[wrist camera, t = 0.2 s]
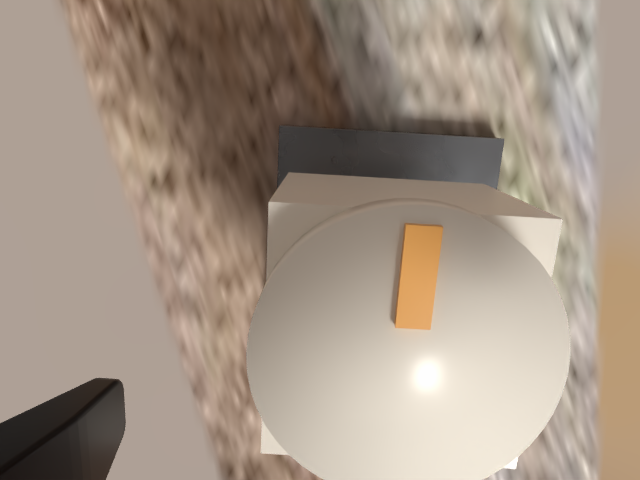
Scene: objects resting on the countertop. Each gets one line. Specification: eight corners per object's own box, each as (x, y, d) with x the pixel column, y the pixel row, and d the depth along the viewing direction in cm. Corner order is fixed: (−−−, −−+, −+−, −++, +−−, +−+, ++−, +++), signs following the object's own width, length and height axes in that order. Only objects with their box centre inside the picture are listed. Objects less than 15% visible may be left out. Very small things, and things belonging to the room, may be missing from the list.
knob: (465, 368, 19) (543, 513, 12) (273, 356, 19) (242, 494, 12) (494, 176, 17) (605, 218, 10) (280, 163, 17) (247, 197, 10)
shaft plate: (461, 380, 24) (507, 474, 18) (272, 369, 24) (252, 459, 18) (496, 137, 21) (567, 148, 15) (281, 125, 21) (261, 129, 15)
